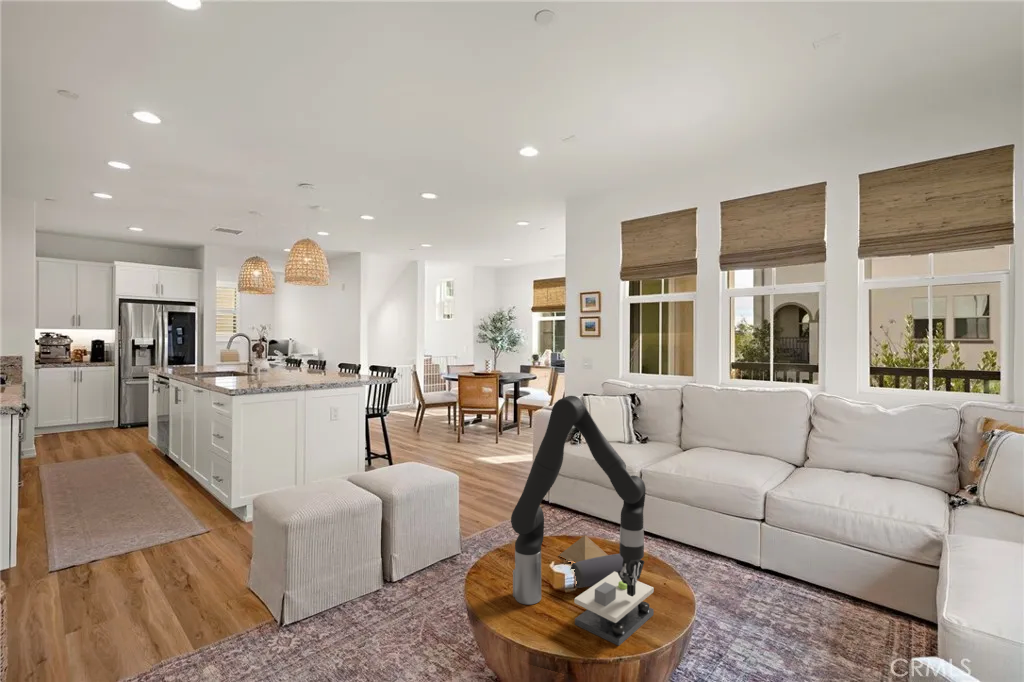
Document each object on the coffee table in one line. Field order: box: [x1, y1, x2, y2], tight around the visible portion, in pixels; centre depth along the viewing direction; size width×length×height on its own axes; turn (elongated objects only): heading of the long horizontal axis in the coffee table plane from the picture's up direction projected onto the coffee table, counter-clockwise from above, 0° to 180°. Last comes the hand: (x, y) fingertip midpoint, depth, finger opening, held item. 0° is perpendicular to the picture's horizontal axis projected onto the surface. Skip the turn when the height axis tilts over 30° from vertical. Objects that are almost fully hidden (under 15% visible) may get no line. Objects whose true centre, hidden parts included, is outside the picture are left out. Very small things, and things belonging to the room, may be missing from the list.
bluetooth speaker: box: [570, 553, 623, 589], centre depth 186 cm, size 23×9×10 cm, turn 111°
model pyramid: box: [557, 534, 608, 562], centre depth 208 cm, size 17×17×10 cm
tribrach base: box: [574, 601, 655, 647], centre depth 163 cm, size 16×22×6 cm
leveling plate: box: [574, 571, 655, 623], centre depth 163 cm, size 15×24×7 cm, turn 137°
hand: (631, 594), depth 159 cm, fingers closed
